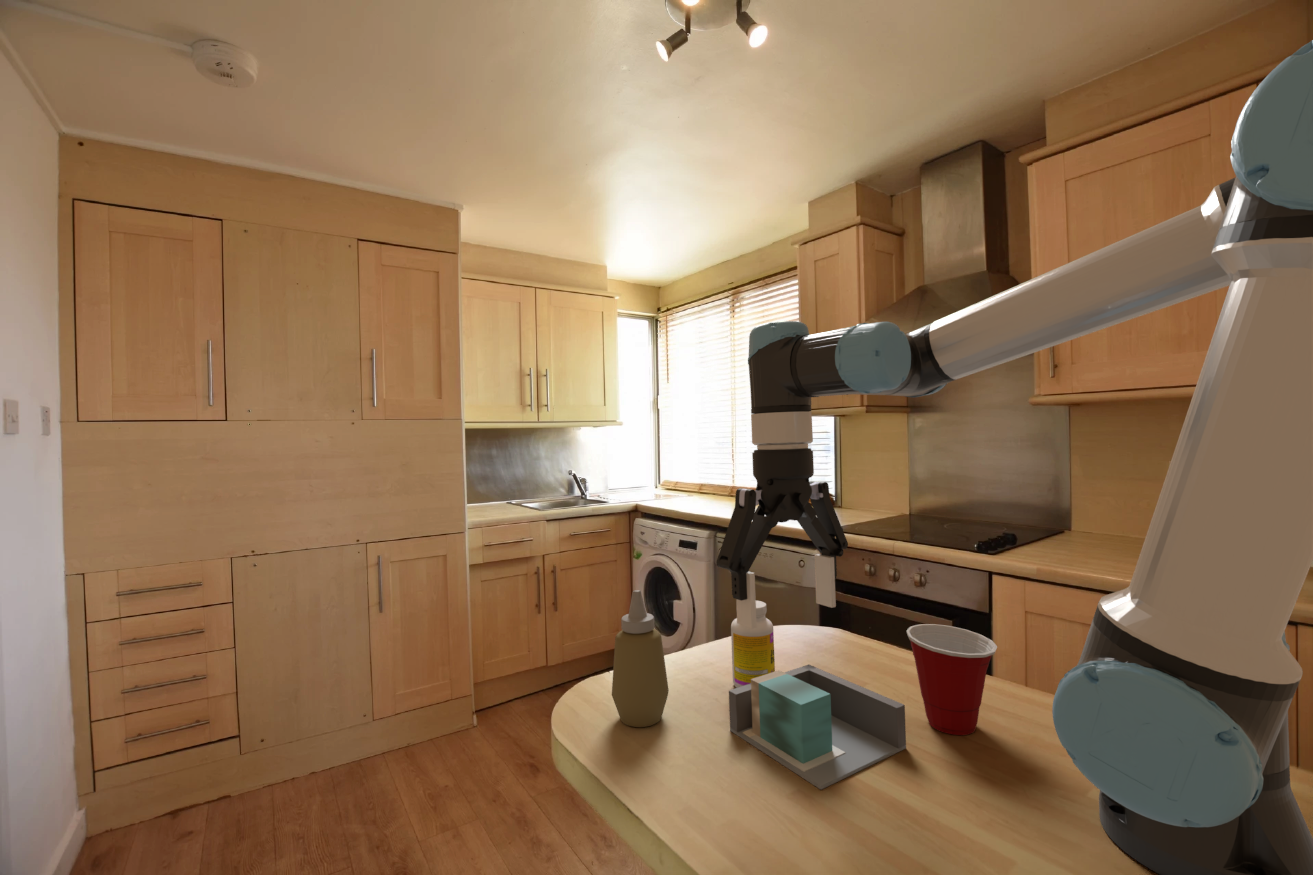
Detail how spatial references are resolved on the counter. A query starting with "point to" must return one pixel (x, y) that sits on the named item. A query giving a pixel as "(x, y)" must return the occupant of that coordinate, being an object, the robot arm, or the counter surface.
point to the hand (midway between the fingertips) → (788, 614)
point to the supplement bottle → (752, 648)
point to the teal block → (792, 715)
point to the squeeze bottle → (639, 668)
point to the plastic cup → (951, 674)
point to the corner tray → (833, 728)
